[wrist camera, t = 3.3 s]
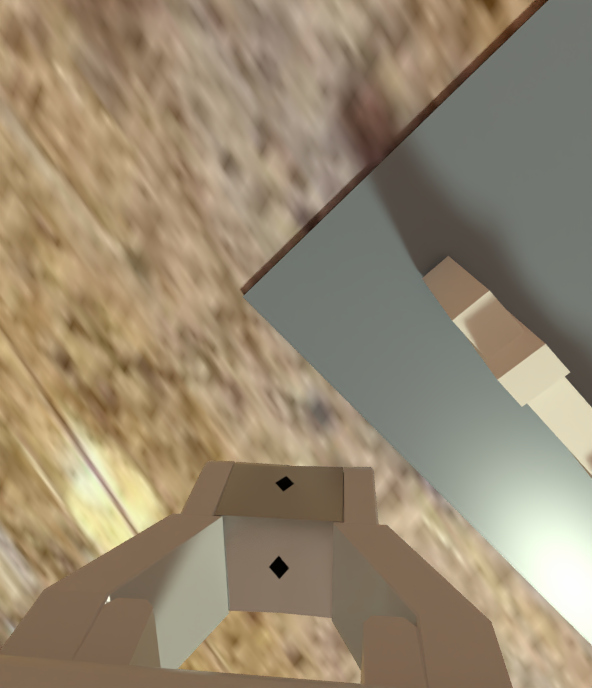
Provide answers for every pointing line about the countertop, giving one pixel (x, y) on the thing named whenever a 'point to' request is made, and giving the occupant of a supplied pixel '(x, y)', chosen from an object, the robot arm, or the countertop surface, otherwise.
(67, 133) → the countertop surface
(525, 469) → the card
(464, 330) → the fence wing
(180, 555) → the robot arm
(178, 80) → the countertop surface
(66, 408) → the countertop surface
